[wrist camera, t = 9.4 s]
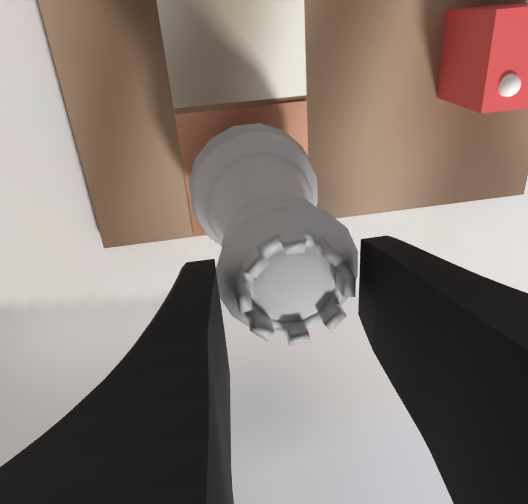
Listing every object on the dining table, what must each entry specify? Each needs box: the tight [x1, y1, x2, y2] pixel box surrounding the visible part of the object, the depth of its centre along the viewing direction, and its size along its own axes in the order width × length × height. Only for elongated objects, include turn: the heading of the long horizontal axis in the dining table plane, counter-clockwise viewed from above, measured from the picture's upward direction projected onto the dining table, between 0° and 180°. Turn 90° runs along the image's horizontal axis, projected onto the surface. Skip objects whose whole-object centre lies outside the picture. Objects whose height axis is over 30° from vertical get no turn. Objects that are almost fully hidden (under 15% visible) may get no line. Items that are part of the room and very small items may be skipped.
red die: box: [437, 2, 528, 113], centre depth 16 cm, size 3×3×3 cm
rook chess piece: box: [188, 123, 358, 345], centre depth 13 cm, size 4×4×8 cm
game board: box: [38, 0, 528, 248], centre depth 17 cm, size 18×10×1 cm, turn 94°
